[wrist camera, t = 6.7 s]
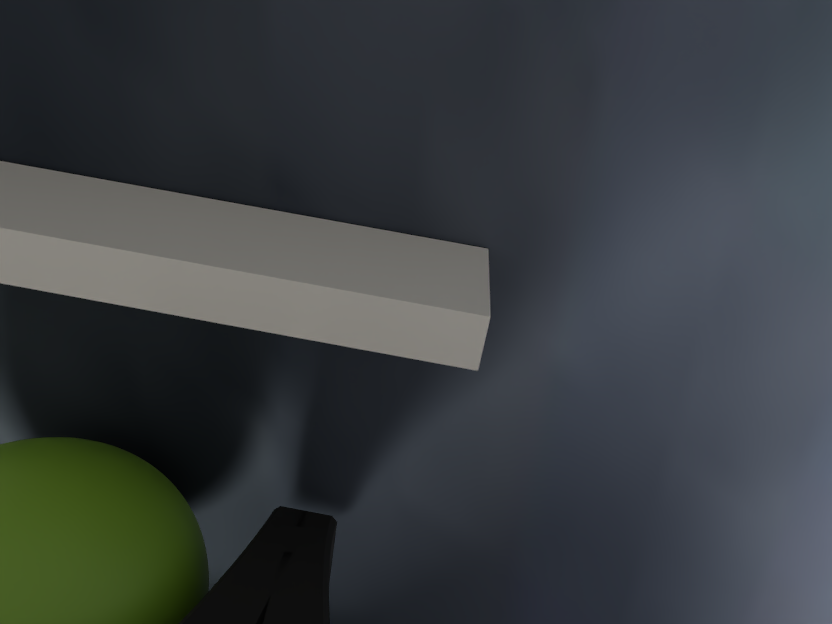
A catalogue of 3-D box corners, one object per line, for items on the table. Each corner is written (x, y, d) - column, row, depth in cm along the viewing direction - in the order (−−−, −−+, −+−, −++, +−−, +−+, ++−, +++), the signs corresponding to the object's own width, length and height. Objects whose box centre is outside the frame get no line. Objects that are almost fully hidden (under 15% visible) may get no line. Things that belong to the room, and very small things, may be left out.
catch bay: (385, 713, 15) (369, 831, 13) (-31, 632, 16) (-117, 736, 13) (488, 248, 10) (490, 317, 8) (-160, 131, 10) (-344, 164, 8)
